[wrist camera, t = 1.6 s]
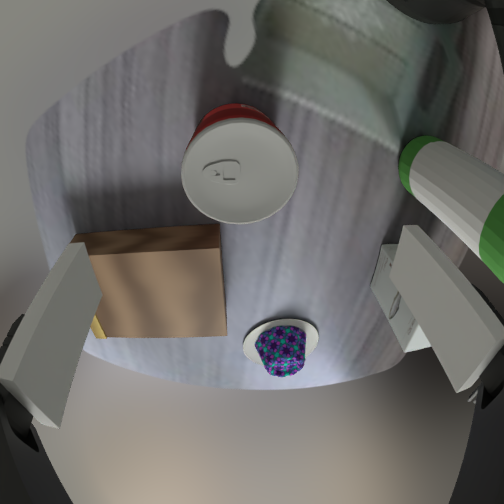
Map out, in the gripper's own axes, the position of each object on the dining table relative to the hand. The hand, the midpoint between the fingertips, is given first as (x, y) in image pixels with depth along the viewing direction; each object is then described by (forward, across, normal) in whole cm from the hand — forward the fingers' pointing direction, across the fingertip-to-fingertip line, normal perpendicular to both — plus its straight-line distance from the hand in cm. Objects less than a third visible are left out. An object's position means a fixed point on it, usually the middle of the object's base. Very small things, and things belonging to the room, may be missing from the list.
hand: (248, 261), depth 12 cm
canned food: (+21, 0, 0) cm, 21 cm away
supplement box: (+21, +22, -17) cm, 35 cm away
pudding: (+21, +6, -31) cm, 38 cm away
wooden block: (+21, -11, -16) cm, 28 cm away
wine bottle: (+21, +22, -2) cm, 30 cm away
